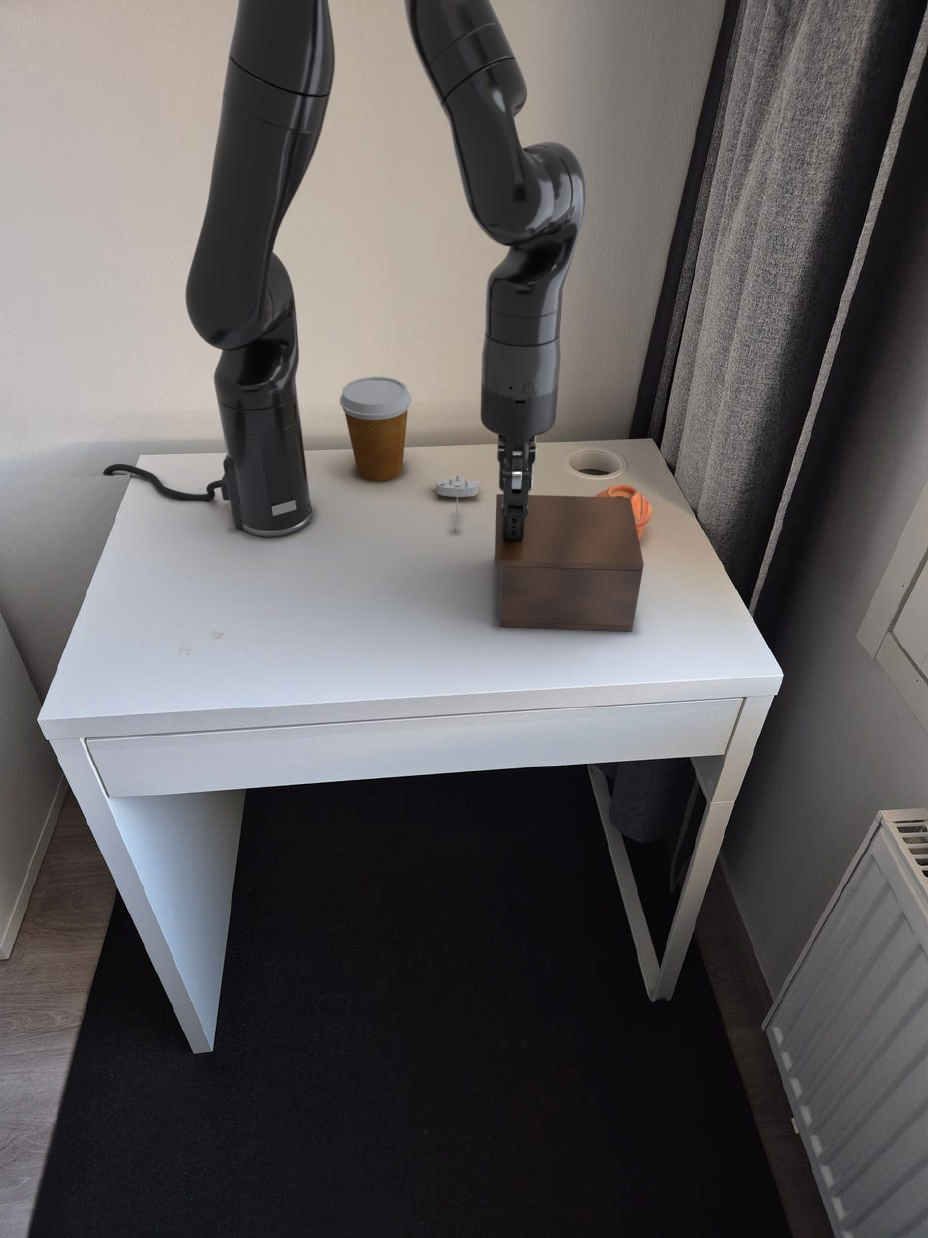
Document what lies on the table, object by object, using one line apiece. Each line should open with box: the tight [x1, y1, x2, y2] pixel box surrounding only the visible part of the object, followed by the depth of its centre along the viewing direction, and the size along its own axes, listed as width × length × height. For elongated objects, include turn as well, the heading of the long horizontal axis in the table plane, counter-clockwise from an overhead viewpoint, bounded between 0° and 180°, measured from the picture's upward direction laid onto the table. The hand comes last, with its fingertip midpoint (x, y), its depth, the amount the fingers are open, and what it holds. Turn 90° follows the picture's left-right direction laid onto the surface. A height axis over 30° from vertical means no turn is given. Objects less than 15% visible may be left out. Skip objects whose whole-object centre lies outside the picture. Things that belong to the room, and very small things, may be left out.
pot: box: [594, 484, 653, 540], centre depth 108 cm, size 8×8×7 cm
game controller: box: [436, 475, 480, 533], centre depth 114 cm, size 6×12×3 cm, turn 15°
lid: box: [494, 493, 645, 570], centre depth 93 cm, size 15×13×6 cm
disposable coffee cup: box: [339, 376, 412, 482], centre depth 118 cm, size 10×10×12 cm
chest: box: [498, 566, 644, 632], centre depth 98 cm, size 15×13×8 cm
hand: (512, 524), depth 95 cm, fingers open, 5 cm apart
